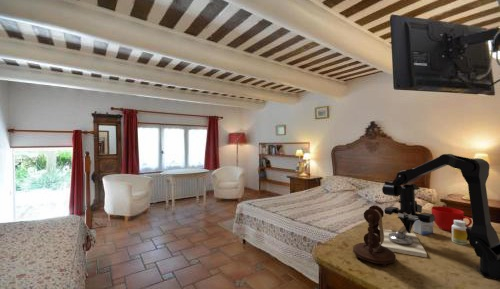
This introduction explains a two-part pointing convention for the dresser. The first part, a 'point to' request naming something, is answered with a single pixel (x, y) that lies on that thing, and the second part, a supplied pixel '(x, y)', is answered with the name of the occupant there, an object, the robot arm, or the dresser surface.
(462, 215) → the ceramic cup
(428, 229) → the medicine box
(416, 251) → the ash stand
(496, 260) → the robot arm
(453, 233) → the supplement bottle
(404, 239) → the cam lever
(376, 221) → the brown tall stacked figurine
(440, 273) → the dresser surface
